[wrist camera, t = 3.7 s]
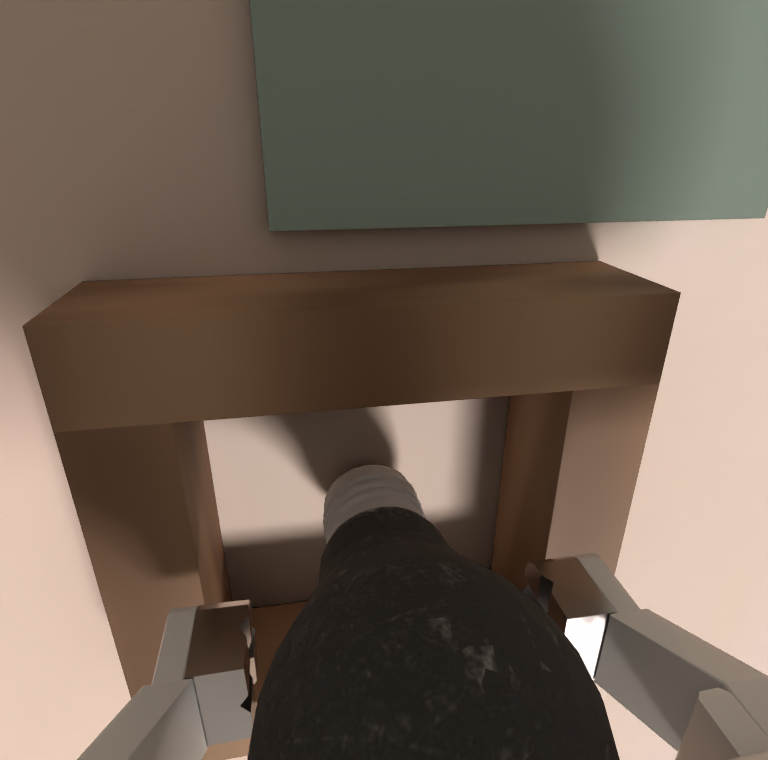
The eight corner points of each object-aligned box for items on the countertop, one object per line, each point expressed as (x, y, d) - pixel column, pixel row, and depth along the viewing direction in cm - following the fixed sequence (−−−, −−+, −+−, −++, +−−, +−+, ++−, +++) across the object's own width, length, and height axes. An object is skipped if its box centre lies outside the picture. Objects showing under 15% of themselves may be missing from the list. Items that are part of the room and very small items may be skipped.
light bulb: (483, 520, 16) (736, 997, 7) (309, 589, 16) (347, 1159, 7) (429, 362, 14) (714, 790, 5) (224, 443, 14) (119, 1035, 5)
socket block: (599, 260, 13) (680, 292, 11) (541, 613, 18) (586, 695, 16) (82, 281, 11) (22, 326, 9) (173, 668, 16) (153, 772, 14)
